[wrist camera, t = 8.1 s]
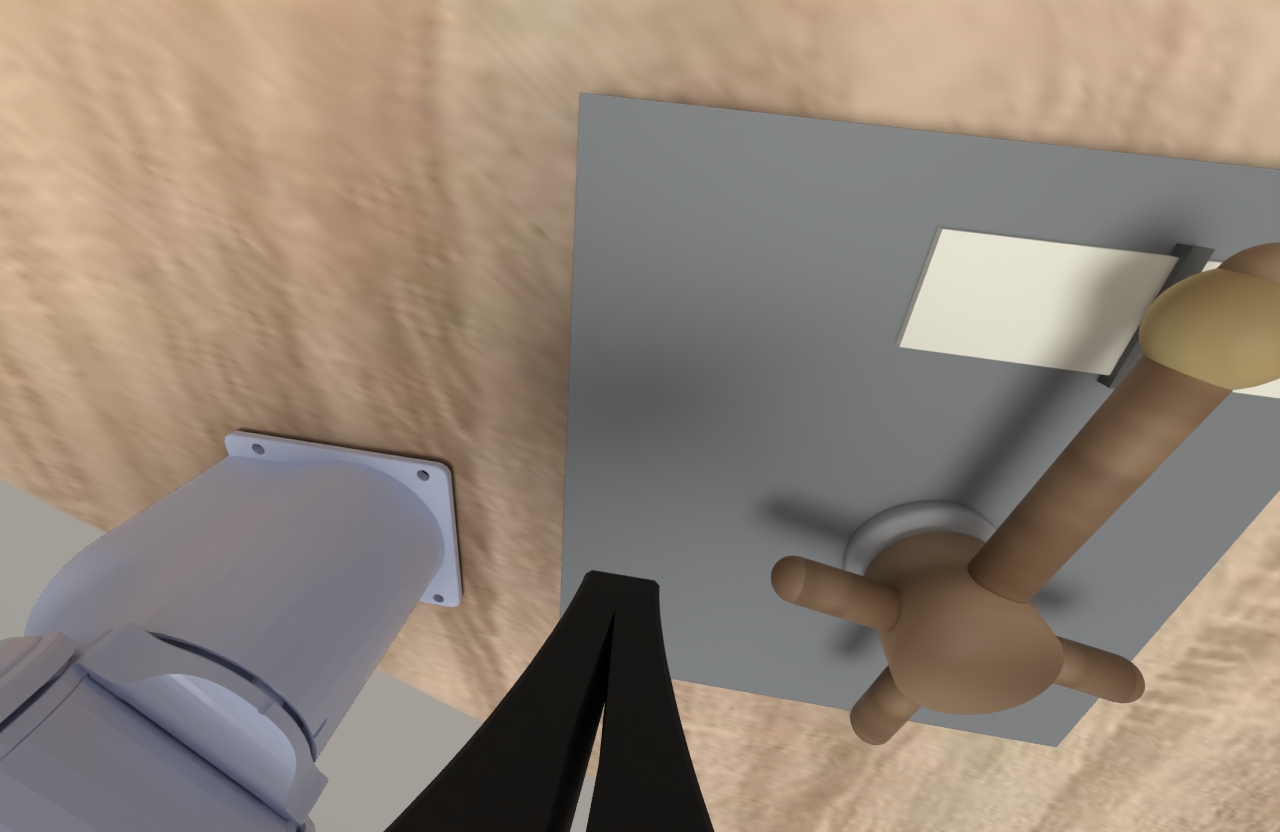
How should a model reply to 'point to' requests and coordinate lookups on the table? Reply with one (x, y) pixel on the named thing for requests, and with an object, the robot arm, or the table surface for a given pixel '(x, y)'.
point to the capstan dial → (1048, 523)
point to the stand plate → (880, 376)
